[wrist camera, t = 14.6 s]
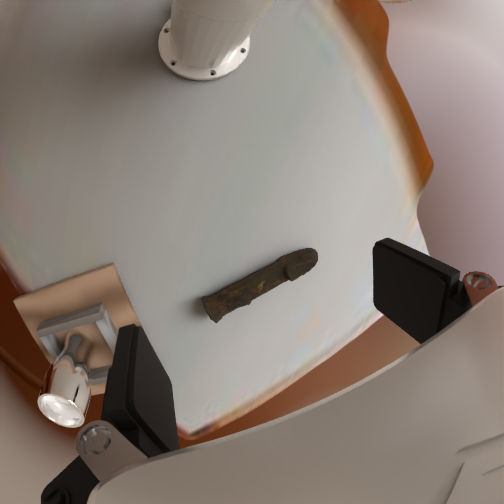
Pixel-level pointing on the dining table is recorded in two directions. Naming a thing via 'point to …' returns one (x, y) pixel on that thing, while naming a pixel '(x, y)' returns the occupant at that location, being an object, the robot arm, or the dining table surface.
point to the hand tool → (260, 283)
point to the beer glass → (69, 381)
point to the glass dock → (80, 316)
